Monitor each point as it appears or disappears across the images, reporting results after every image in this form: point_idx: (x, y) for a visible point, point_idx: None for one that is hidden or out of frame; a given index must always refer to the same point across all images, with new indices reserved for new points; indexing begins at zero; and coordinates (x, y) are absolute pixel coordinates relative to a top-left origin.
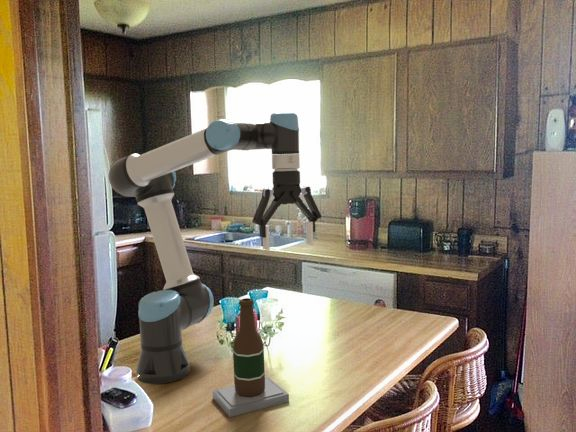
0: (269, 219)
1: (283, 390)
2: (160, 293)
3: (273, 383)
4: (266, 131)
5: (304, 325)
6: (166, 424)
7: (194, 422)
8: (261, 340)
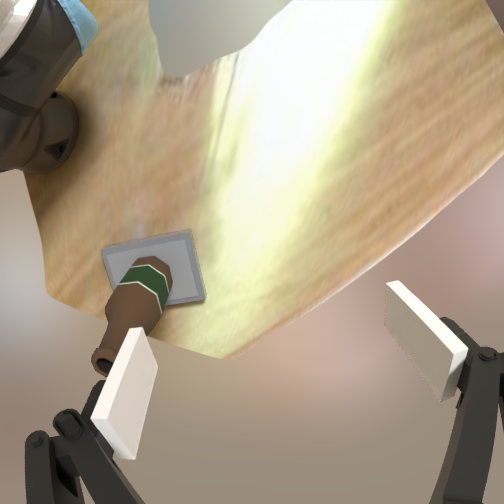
0: (134, 490)
1: (201, 286)
2: None
3: (192, 257)
4: None
5: None
6: (57, 294)
7: (85, 302)
8: (154, 325)
